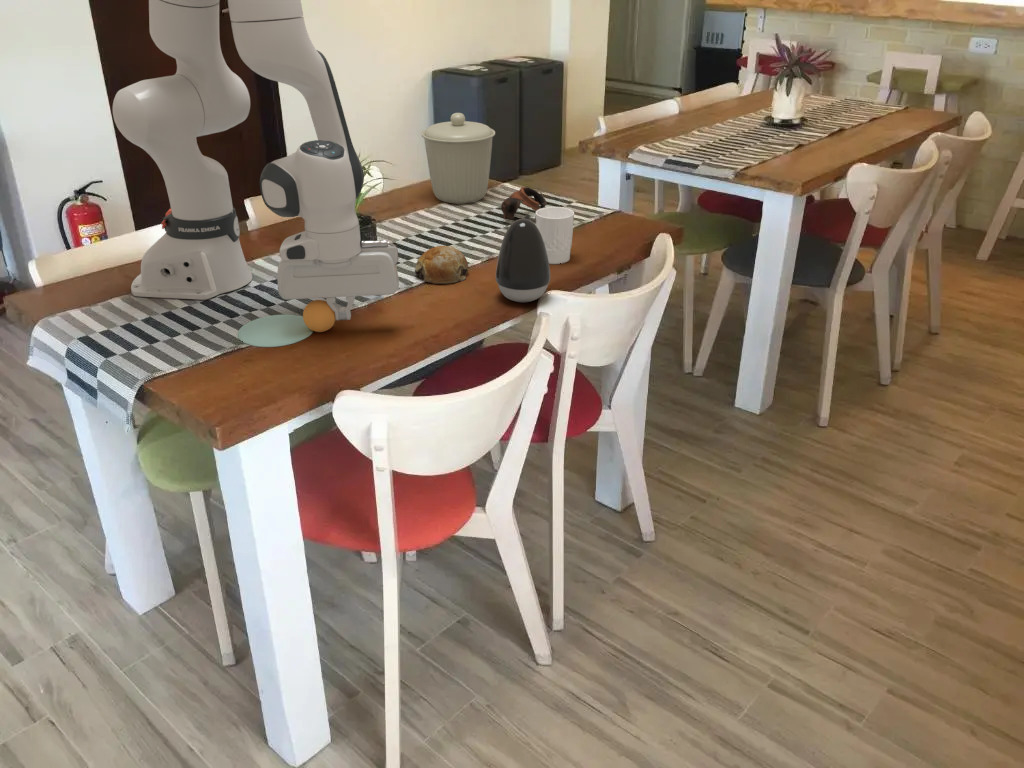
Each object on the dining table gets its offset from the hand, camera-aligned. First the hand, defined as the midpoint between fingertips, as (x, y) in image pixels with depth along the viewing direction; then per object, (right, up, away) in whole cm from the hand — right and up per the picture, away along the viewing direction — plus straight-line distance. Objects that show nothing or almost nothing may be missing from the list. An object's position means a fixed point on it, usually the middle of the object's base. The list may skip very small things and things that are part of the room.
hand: (343, 318), depth 152 cm
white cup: (+38, +15, +32) cm, 52 cm away
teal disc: (-12, -2, +1) cm, 12 cm away
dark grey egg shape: (+31, +5, +14) cm, 35 cm away
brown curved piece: (+31, +27, +55) cm, 69 cm away
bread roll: (+15, +10, +23) cm, 30 cm away
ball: (-4, 0, -1) cm, 4 cm away
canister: (+16, +36, +70) cm, 80 cm away
